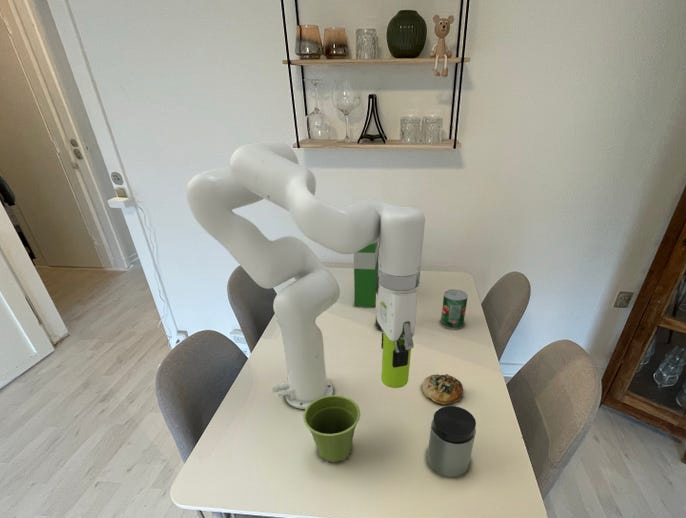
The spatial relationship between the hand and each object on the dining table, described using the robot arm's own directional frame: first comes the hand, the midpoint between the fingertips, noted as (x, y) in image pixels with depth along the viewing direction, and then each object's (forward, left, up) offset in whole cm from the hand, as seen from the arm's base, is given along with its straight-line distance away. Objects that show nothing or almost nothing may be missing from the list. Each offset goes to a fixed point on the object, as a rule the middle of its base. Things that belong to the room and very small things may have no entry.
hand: (394, 355), depth 81 cm
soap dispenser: (0, 0, -7) cm, 7 cm away
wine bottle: (+15, +45, -21) cm, 52 cm away
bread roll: (+17, +8, -21) cm, 28 cm away
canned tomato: (+37, +40, -21) cm, 58 cm away
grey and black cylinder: (+8, -13, -21) cm, 26 cm away
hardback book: (+15, +69, -21) cm, 73 cm away
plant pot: (-15, -3, -21) cm, 26 cm away
